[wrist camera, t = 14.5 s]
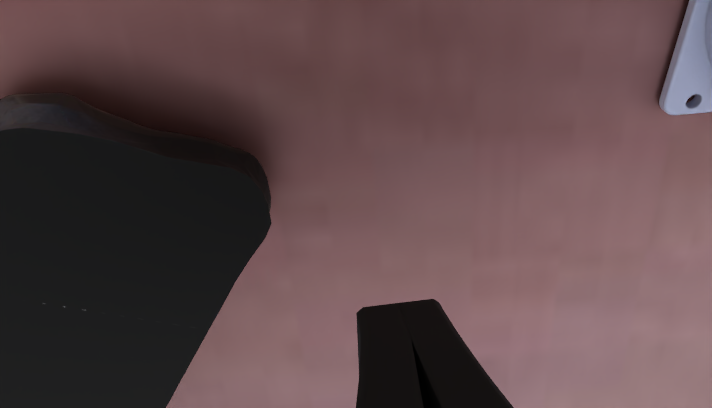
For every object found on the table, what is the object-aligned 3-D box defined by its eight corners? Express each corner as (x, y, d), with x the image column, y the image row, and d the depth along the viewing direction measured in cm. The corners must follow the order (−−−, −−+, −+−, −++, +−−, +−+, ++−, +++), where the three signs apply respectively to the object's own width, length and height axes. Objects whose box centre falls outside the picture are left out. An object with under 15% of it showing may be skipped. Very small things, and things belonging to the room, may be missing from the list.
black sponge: (13, 34, 17) (-40, 96, 14) (291, 143, 20) (294, 212, 17) (-65, 380, 25) (-109, 464, 22) (142, 420, 28) (127, 498, 25)
